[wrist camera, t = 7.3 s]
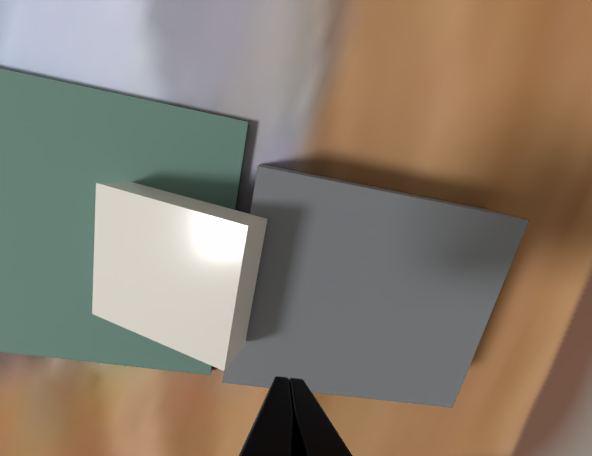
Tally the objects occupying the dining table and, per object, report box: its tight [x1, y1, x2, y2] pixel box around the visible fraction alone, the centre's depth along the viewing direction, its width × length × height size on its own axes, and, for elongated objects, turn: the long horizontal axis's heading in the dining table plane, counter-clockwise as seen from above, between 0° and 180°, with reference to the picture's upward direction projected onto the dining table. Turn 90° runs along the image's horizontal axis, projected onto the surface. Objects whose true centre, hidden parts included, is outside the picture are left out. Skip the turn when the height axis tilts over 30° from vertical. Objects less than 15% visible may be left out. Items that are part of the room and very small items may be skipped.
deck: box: [222, 164, 529, 408], centre depth 17 cm, size 12×14×3 cm
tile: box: [92, 182, 267, 371], centre depth 14 cm, size 7×8×2 cm
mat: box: [0, 68, 249, 375], centre depth 16 cm, size 16×14×1 cm
